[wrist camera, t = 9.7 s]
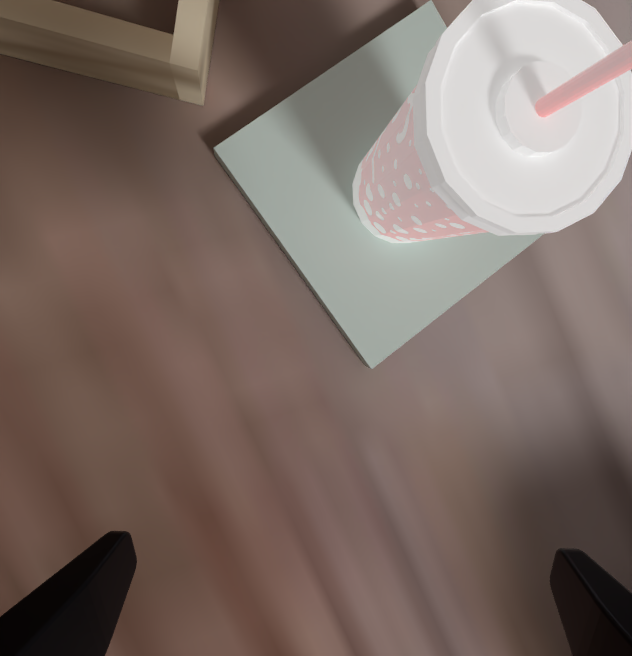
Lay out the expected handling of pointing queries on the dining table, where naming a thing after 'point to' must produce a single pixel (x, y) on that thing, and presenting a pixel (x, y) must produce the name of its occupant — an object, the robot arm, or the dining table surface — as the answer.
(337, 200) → the ceramic coaster
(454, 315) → the dining table surface
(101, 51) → the maple collar
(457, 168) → the beverage cup
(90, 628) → the robot arm
